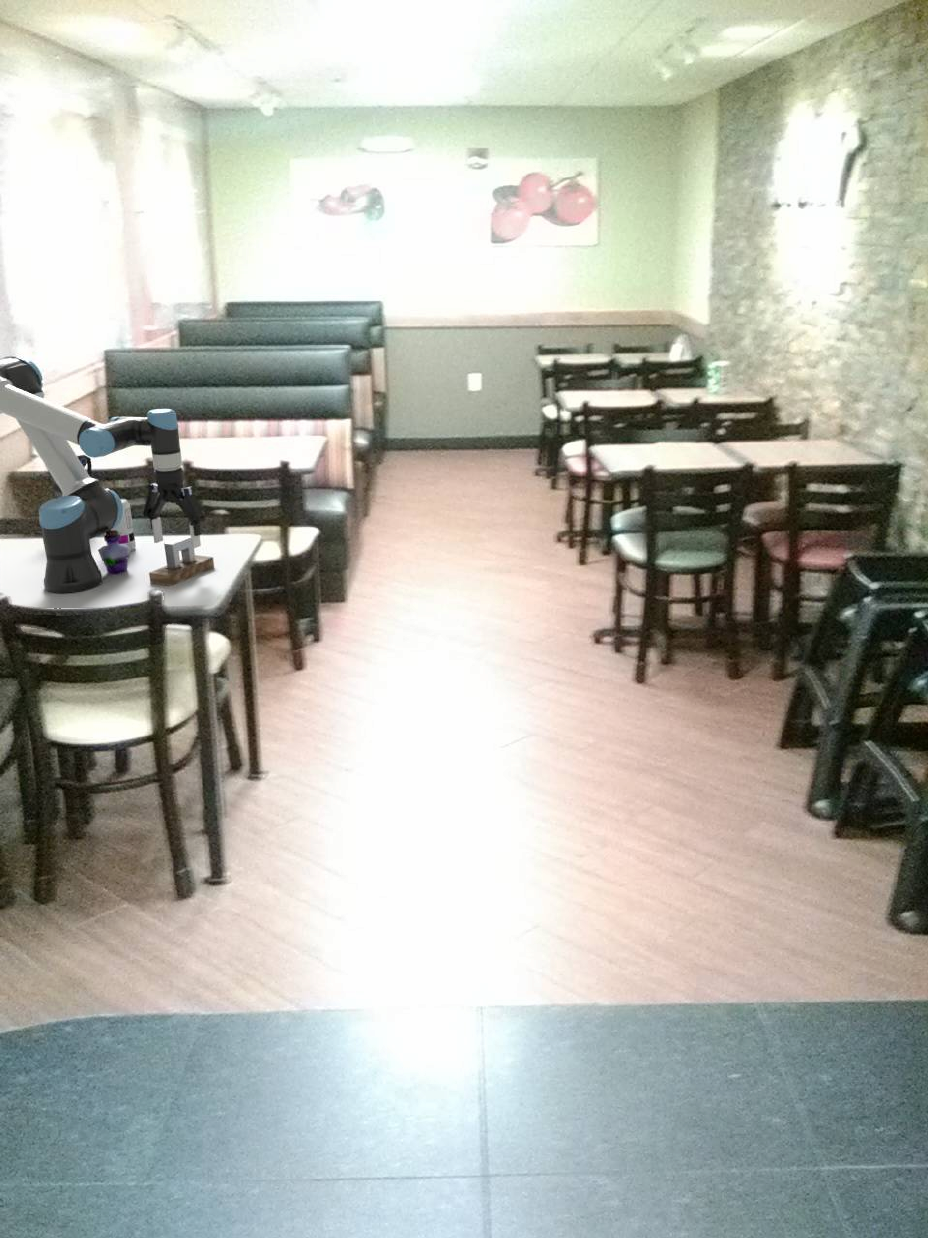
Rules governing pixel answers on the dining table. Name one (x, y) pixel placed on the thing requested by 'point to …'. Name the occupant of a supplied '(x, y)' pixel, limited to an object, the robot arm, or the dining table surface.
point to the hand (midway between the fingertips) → (177, 544)
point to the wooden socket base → (181, 571)
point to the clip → (173, 552)
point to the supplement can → (126, 527)
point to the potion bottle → (114, 553)
